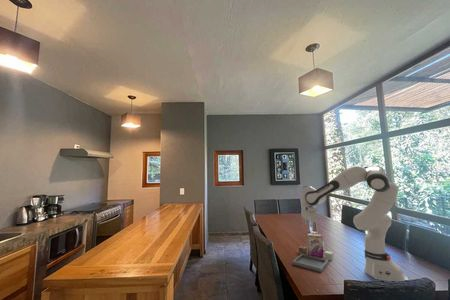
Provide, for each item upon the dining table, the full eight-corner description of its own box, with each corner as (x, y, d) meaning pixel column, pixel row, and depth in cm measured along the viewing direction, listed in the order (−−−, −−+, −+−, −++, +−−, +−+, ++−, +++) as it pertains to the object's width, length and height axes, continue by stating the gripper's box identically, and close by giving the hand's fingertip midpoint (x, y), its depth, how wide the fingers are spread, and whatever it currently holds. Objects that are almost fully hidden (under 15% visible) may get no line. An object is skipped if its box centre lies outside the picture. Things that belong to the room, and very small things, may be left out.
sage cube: (333, 258, 160) (332, 252, 160) (331, 261, 156) (331, 254, 157) (326, 257, 163) (326, 250, 164) (324, 259, 159) (324, 252, 160)
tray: (328, 263, 152) (328, 260, 152) (321, 272, 138) (321, 268, 138) (301, 256, 165) (301, 253, 165) (292, 264, 151) (292, 261, 151)
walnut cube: (307, 253, 172) (306, 247, 173) (304, 255, 168) (304, 248, 169) (301, 251, 175) (300, 245, 176) (299, 253, 172) (298, 247, 172)
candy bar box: (308, 256, 166) (307, 235, 168) (308, 253, 170) (307, 233, 172) (323, 257, 162) (322, 236, 164) (323, 255, 167) (321, 234, 169)
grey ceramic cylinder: (325, 250, 178) (324, 241, 178) (323, 252, 174) (323, 243, 175) (319, 249, 181) (318, 240, 182) (317, 250, 177) (316, 242, 178)
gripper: (298, 205, 169) (299, 222, 167) (309, 209, 149) (310, 228, 147) (306, 204, 169) (307, 222, 167) (317, 209, 149) (319, 228, 147)
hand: (309, 225), depth 157 cm, fingers open, 8 cm apart
